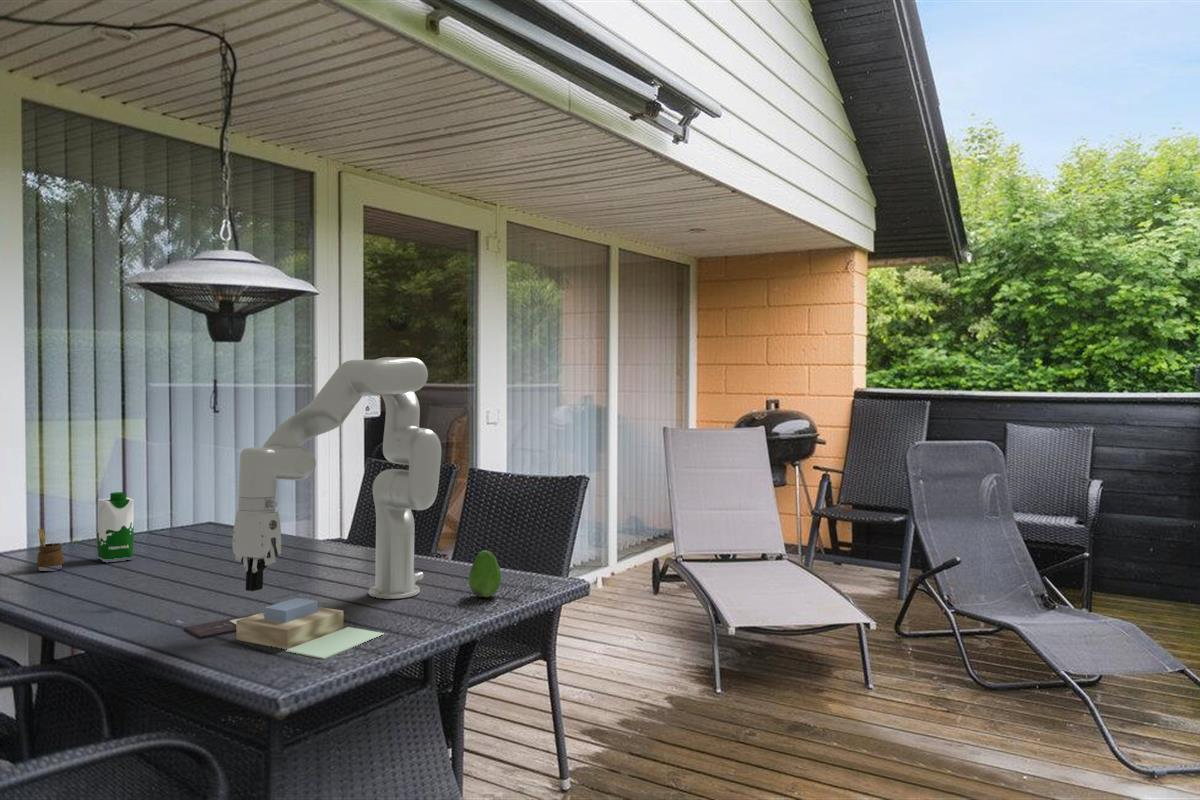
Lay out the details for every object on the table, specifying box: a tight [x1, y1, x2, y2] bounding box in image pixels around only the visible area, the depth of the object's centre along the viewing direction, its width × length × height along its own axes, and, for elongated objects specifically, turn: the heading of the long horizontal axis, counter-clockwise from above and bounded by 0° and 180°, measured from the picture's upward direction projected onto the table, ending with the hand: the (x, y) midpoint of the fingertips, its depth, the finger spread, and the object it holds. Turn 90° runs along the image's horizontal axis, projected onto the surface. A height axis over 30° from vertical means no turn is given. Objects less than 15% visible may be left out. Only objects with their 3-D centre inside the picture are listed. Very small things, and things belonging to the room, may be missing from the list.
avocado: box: [468, 549, 502, 598], centre depth 210 cm, size 8×8×12 cm
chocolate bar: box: [183, 612, 260, 640], centre depth 182 cm, size 9×1×18 cm
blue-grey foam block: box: [263, 597, 319, 623], centre depth 176 cm, size 9×6×2 cm, turn 156°
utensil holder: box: [37, 528, 64, 568], centre depth 230 cm, size 6×6×12 cm
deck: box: [235, 606, 344, 650], centre depth 176 cm, size 16×14×4 cm
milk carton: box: [96, 491, 135, 559], centre depth 244 cm, size 9×9×20 cm
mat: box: [285, 626, 386, 660], centre depth 171 cm, size 18×10×1 cm, turn 156°
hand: (254, 589), depth 180 cm, fingers closed
